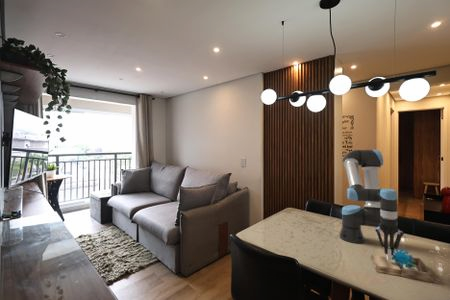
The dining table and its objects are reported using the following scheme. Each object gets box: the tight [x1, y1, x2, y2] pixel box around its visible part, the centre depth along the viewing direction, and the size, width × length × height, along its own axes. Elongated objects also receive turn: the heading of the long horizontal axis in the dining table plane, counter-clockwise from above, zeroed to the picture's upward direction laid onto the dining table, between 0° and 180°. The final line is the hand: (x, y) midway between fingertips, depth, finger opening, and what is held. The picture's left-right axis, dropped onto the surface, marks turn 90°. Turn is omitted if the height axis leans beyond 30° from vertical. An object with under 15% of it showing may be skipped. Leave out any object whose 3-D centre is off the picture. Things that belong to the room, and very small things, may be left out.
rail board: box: [369, 254, 434, 283], centre depth 116 cm, size 23×16×4 cm
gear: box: [391, 247, 416, 268], centre depth 116 cm, size 11×6×10 cm
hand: (388, 260), depth 117 cm, fingers closed
